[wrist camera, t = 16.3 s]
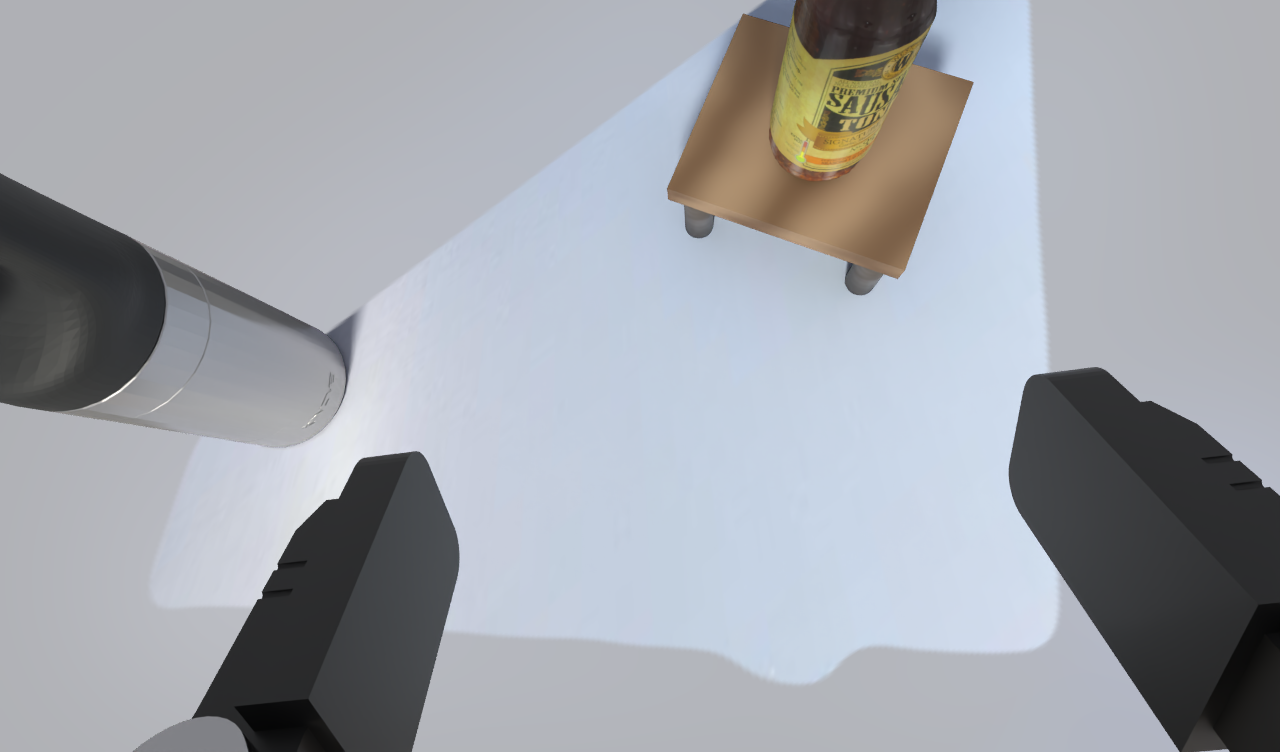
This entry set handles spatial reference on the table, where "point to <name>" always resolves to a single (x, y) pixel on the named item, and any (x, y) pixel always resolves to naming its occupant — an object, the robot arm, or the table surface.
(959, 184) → the table surface
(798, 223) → the peg shelf
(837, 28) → the sauce bottle
